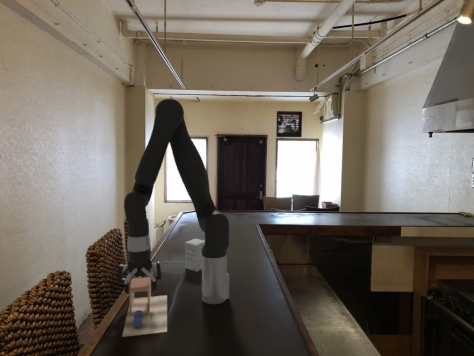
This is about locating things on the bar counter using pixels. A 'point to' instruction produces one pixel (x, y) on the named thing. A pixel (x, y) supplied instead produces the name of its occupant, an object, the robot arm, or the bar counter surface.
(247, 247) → the bar counter surface
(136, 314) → the navy marble back
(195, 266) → the supplement box
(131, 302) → the terracotta cover
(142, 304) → the birch mat
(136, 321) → the navy marble front
